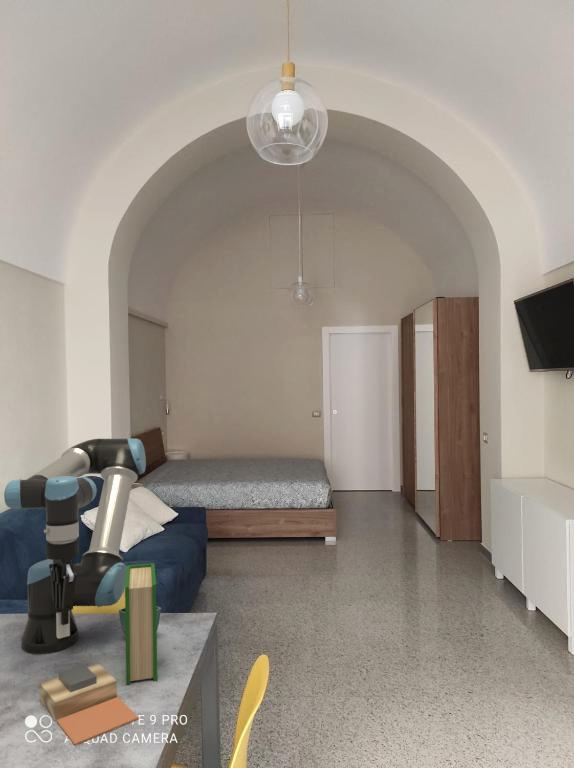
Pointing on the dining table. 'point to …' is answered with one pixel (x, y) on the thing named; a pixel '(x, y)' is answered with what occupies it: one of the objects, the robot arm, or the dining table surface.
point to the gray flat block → (77, 678)
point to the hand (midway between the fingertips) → (63, 636)
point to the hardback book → (140, 622)
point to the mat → (96, 720)
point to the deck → (77, 694)
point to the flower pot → (122, 618)
